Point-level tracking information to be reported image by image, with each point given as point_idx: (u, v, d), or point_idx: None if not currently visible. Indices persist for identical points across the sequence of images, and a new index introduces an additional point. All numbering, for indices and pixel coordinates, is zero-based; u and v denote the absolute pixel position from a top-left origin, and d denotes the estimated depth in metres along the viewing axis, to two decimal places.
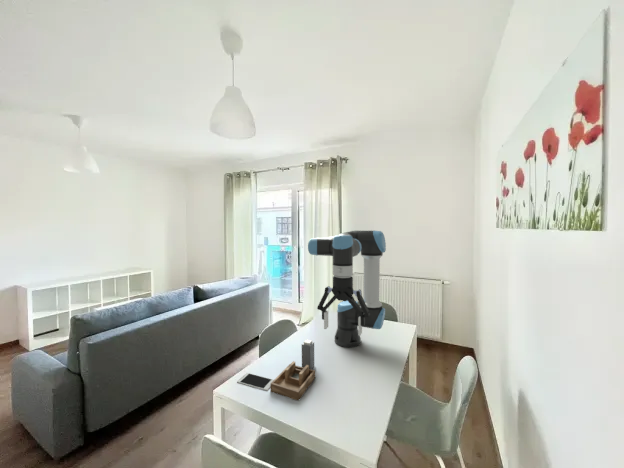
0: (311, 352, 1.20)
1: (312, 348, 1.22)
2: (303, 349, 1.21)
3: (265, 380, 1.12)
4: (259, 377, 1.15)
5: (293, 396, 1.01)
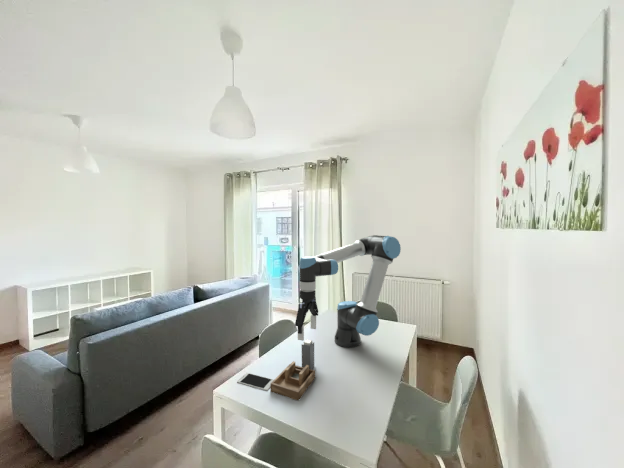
0: (311, 352, 1.20)
1: (312, 348, 1.22)
2: (303, 349, 1.21)
3: (265, 380, 1.12)
4: (259, 377, 1.15)
5: (293, 396, 1.01)
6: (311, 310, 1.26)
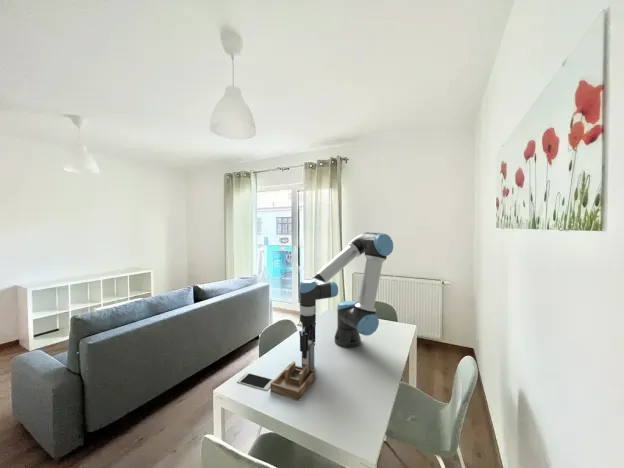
0: (311, 352, 1.20)
1: (312, 348, 1.22)
2: None
3: (265, 380, 1.12)
4: (259, 377, 1.15)
5: (293, 396, 1.01)
6: (309, 337, 1.24)
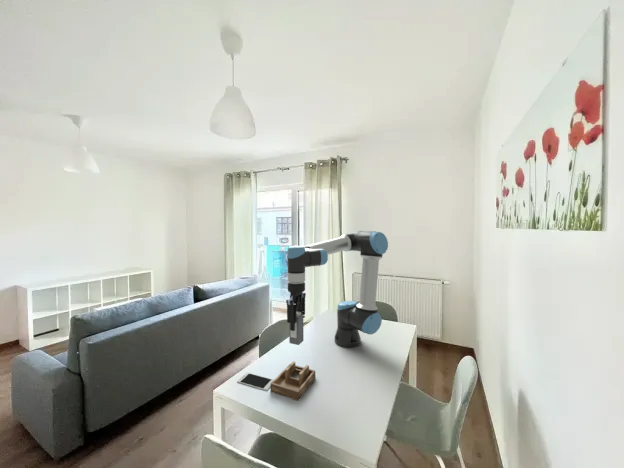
0: (299, 324, 1.09)
1: (301, 320, 1.11)
2: None
3: (265, 380, 1.12)
4: (259, 377, 1.15)
5: (293, 396, 1.01)
6: (298, 308, 1.13)
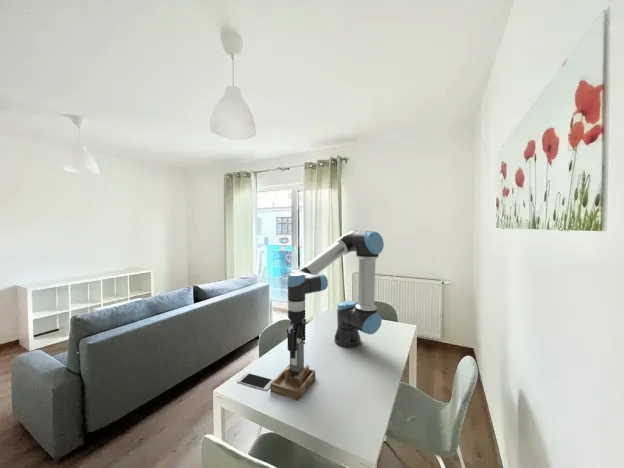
0: (299, 351, 1.10)
1: (301, 347, 1.11)
2: None
3: (265, 380, 1.12)
4: (259, 377, 1.15)
5: (293, 396, 1.01)
6: (298, 335, 1.14)
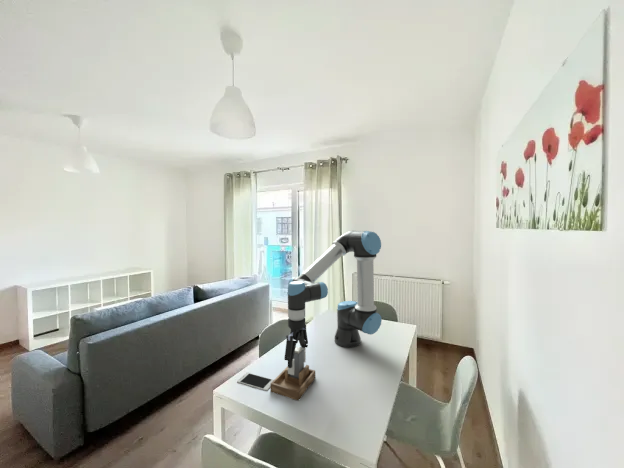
0: (300, 361, 1.10)
1: (301, 357, 1.12)
2: None
3: (265, 380, 1.12)
4: (259, 377, 1.15)
5: (293, 396, 1.01)
6: (300, 340, 1.15)
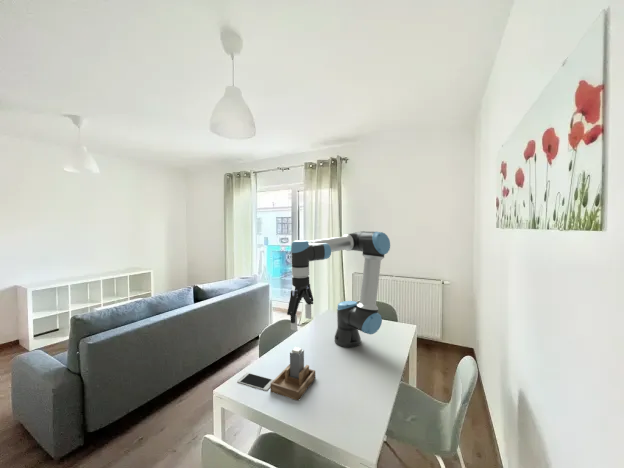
0: (300, 361, 1.10)
1: (301, 357, 1.12)
2: (291, 358, 1.11)
3: (265, 380, 1.12)
4: (259, 377, 1.15)
5: (293, 396, 1.01)
6: (305, 298, 1.17)
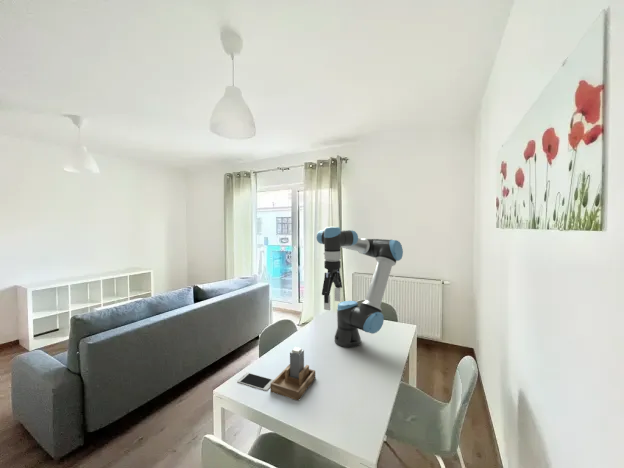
0: (300, 361, 1.10)
1: (301, 357, 1.12)
2: (291, 358, 1.11)
3: (265, 380, 1.12)
4: (259, 377, 1.15)
5: (293, 396, 1.01)
6: (335, 282, 1.24)
